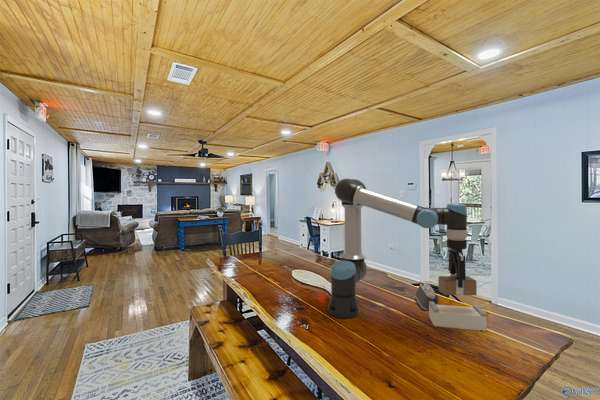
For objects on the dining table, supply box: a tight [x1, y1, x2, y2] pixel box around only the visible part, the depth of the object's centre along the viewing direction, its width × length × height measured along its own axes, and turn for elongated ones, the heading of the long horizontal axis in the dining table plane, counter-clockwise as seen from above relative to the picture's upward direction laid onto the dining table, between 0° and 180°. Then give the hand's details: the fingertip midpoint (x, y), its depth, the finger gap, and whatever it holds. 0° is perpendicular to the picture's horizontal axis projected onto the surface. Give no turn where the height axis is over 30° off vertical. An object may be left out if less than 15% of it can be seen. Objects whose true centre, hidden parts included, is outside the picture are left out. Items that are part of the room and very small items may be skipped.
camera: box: [414, 282, 440, 311], centre depth 137 cm, size 9×16×10 cm, turn 170°
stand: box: [428, 301, 488, 332], centre depth 117 cm, size 20×9×7 cm, turn 77°
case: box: [437, 275, 477, 296], centre depth 117 cm, size 13×6×6 cm, turn 86°
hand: (456, 291), depth 117 cm, fingers closed on case, 6 cm apart
